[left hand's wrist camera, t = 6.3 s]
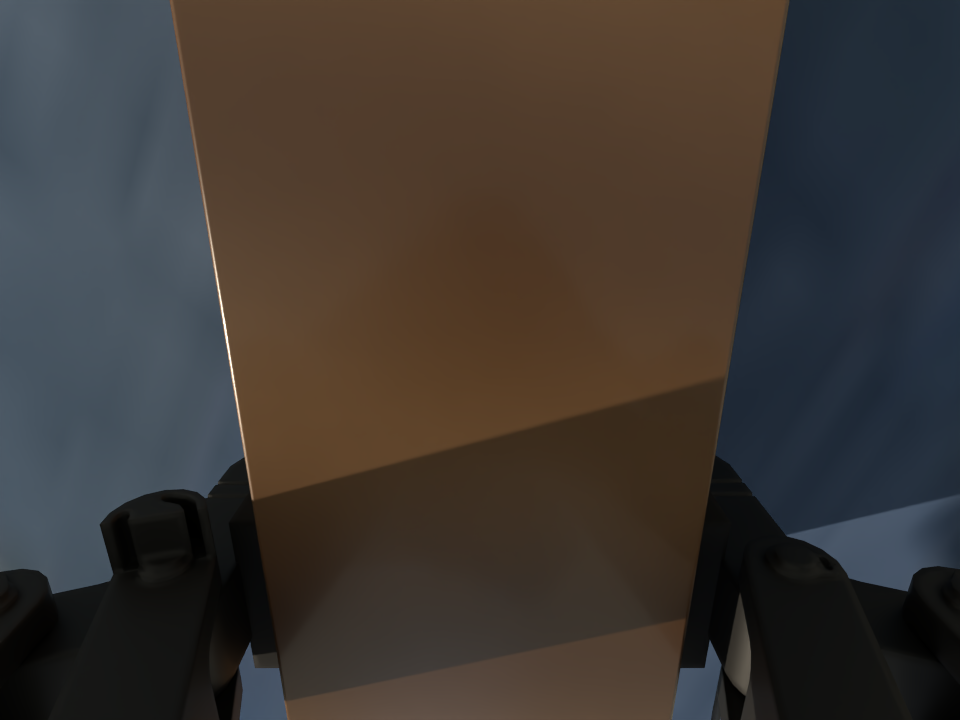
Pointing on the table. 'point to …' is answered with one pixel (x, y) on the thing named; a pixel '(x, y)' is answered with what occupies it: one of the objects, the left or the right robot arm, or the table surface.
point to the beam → (479, 331)
